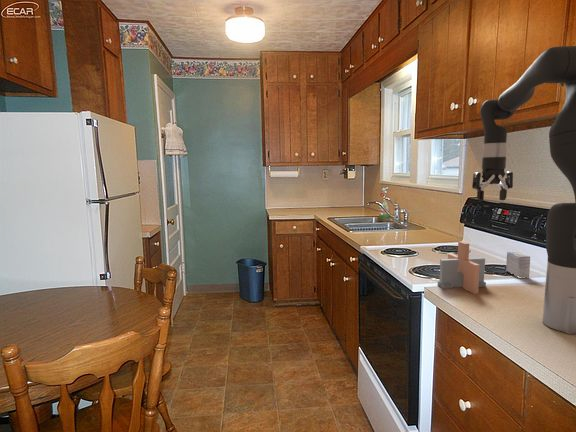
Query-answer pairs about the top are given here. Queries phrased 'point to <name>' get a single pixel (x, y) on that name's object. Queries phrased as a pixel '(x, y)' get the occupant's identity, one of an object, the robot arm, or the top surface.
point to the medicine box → (518, 264)
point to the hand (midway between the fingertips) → (491, 200)
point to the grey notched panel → (457, 273)
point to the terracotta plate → (467, 268)
